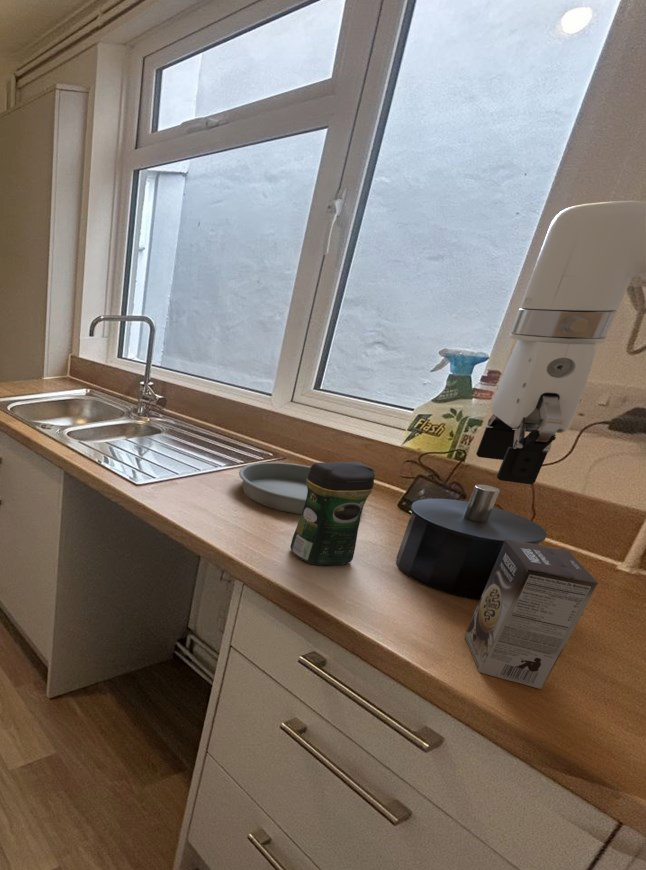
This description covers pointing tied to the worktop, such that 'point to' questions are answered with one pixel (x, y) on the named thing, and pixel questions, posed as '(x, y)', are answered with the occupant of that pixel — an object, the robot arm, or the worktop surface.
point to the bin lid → (478, 518)
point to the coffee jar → (332, 512)
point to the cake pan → (276, 485)
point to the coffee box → (528, 612)
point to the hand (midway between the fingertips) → (502, 469)
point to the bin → (446, 559)
